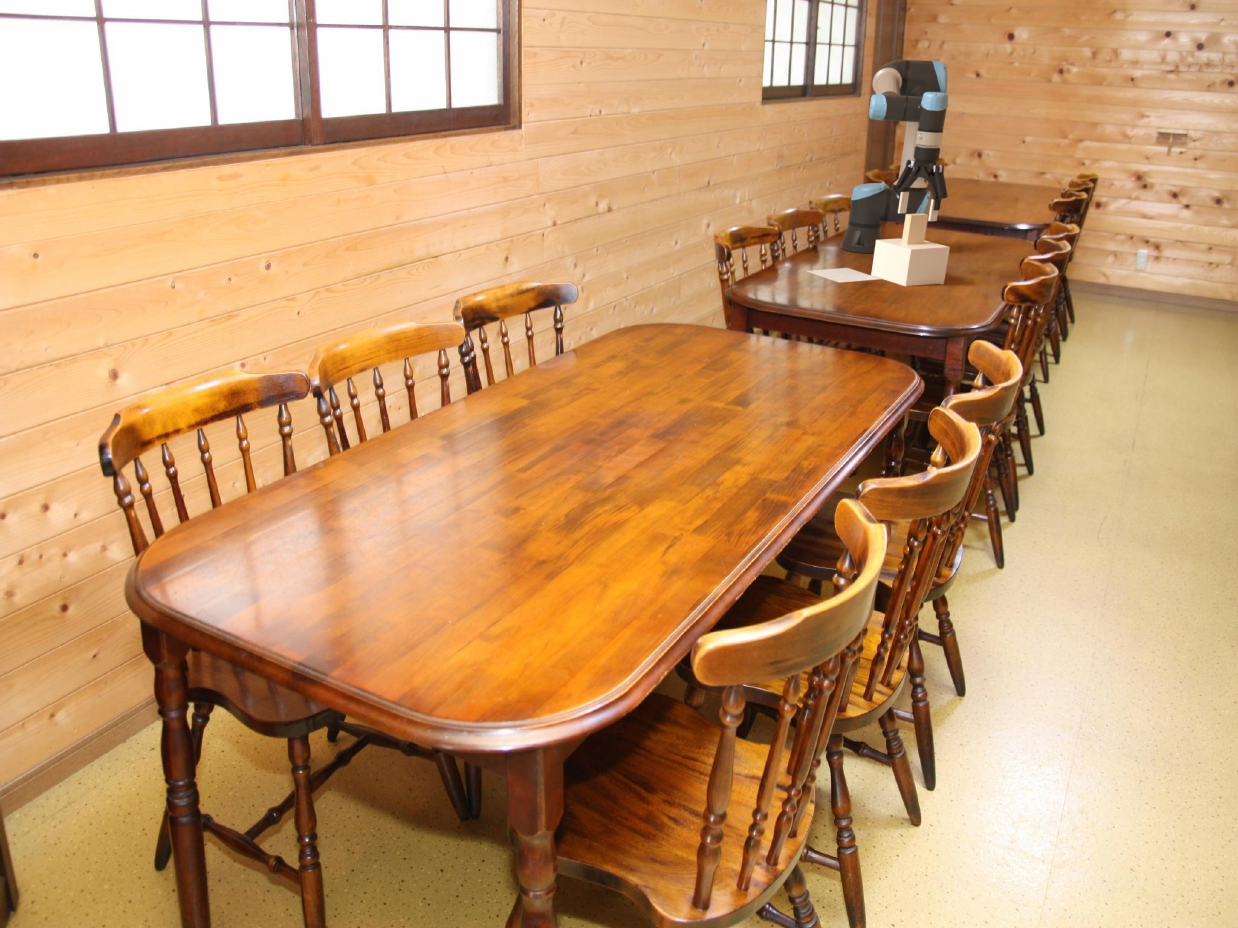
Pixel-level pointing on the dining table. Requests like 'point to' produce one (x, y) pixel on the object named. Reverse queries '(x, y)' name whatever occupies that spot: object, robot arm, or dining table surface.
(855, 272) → the mat
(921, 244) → the cube with upright tab
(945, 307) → the dining table surface
